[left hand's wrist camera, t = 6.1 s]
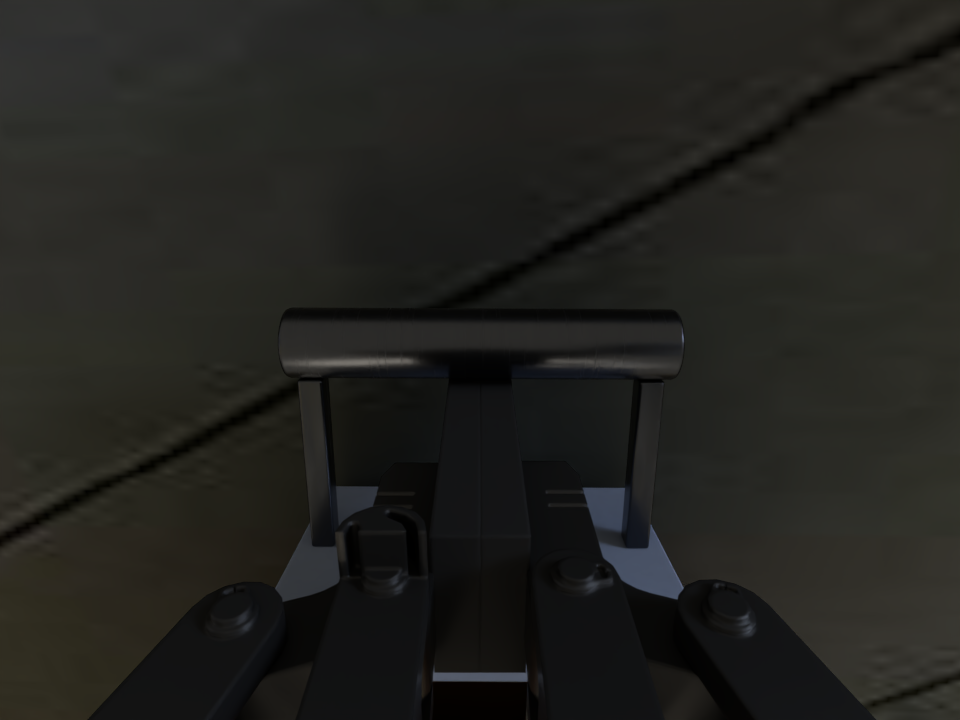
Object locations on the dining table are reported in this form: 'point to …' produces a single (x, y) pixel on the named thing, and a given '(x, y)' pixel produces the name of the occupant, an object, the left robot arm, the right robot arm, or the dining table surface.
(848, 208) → the dining table surface
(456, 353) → the drawer
